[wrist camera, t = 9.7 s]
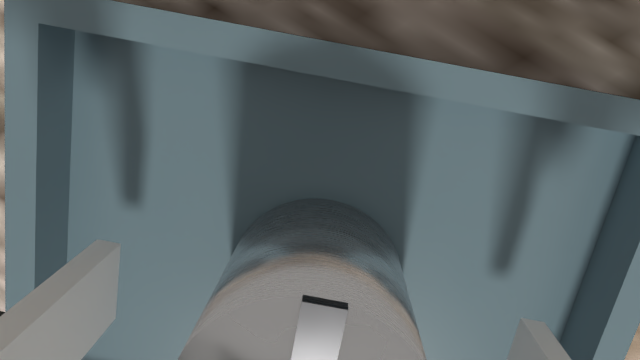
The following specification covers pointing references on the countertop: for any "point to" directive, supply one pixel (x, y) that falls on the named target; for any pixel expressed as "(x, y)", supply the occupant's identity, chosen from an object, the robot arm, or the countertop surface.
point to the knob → (309, 292)
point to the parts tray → (313, 174)
